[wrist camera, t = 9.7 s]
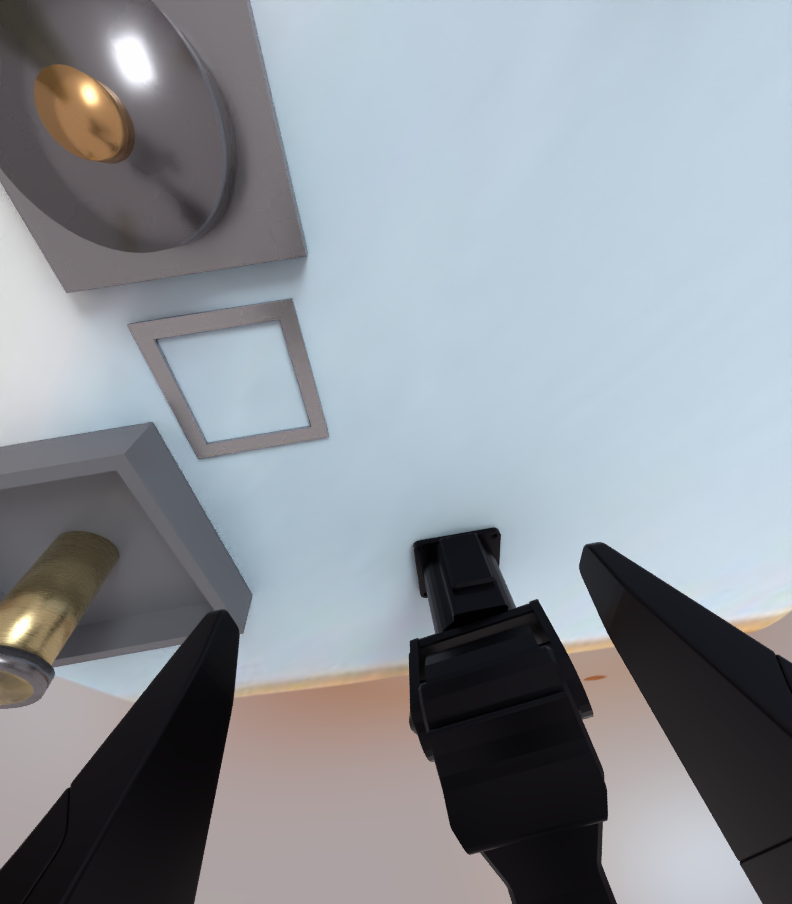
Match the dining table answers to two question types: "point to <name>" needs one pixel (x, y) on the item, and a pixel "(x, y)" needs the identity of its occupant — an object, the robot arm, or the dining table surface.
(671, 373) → the dining table surface
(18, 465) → the tray
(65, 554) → the gold cylinder with rim
